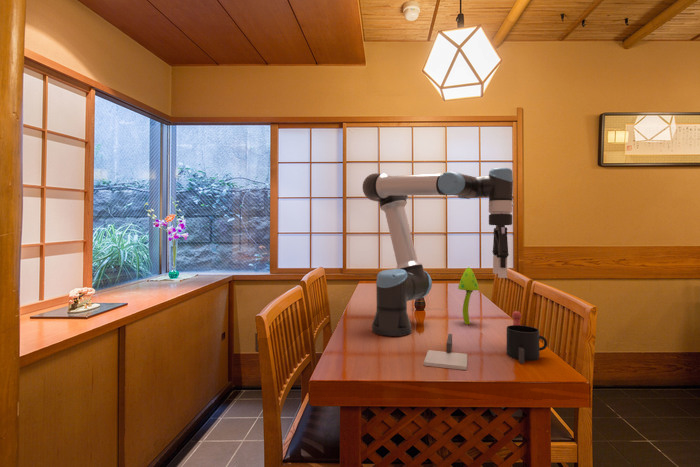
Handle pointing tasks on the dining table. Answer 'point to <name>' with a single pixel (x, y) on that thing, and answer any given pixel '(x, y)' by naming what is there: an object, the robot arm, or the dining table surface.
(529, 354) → the mug
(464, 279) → the mushroom
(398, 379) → the dining table surface
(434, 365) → the plate
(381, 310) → the robot arm
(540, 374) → the dining table surface
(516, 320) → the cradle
